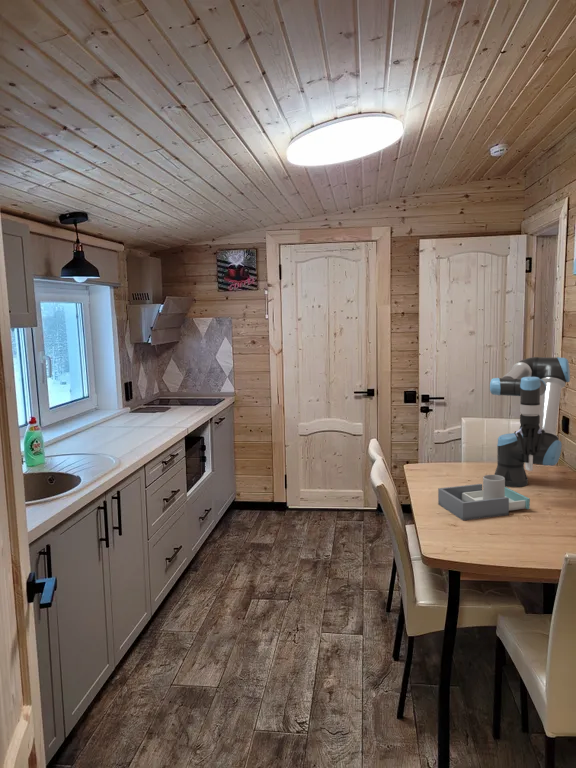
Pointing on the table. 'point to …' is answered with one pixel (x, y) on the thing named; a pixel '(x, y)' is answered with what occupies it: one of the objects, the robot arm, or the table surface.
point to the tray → (515, 498)
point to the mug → (493, 487)
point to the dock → (471, 503)
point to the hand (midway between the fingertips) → (529, 469)
